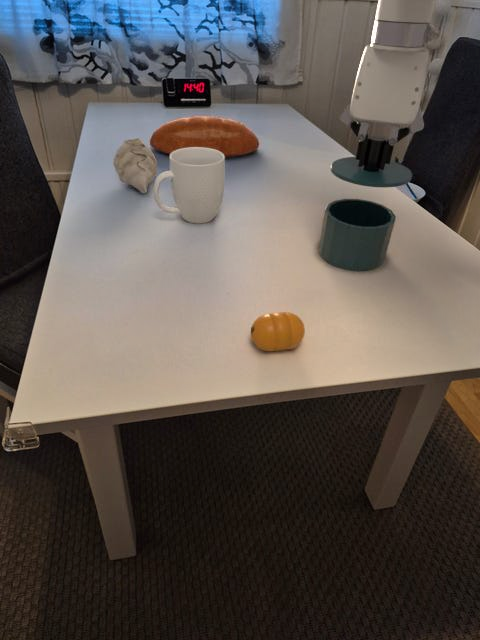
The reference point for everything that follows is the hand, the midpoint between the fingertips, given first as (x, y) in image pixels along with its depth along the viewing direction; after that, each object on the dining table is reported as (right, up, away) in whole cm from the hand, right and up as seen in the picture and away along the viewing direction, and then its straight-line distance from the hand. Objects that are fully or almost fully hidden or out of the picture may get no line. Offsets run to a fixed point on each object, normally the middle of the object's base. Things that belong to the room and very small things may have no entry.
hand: (371, 164), depth 74 cm
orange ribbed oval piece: (-17, -30, -11) cm, 36 cm away
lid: (0, -1, +1) cm, 1 cm away
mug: (-32, -4, +21) cm, 38 cm away
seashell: (-47, +7, +34) cm, 58 cm away
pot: (-1, -13, +11) cm, 17 cm away
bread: (-32, +24, +57) cm, 70 cm away
